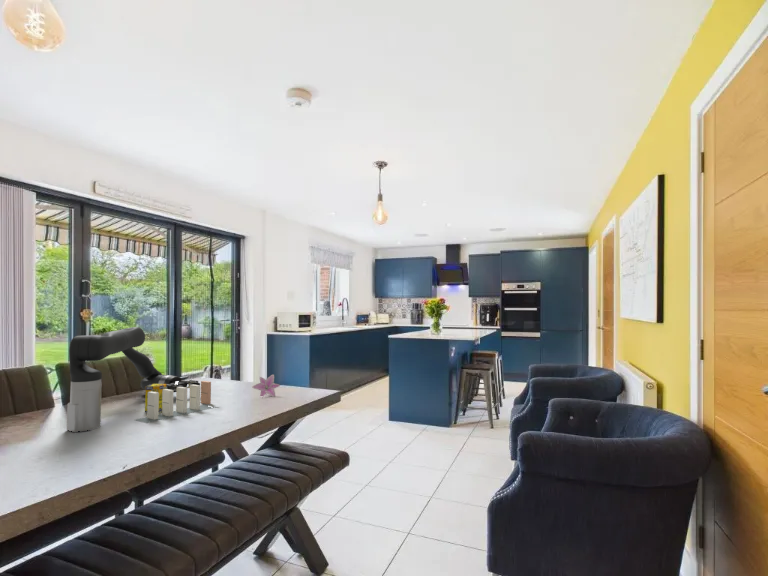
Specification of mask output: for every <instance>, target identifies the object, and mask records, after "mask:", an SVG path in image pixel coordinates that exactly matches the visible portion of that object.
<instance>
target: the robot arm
mask: <svg viewBox="0 0 768 576" xmlns="http://www.w3.org/2000/svg"><path fill="white" fill-rule="evenodd" d="M145 340H146V334H145V332H144V330H143V329H142V328H141V327H139V326H132V327H126V328H122V329H118V330H112V331H107V332H105V333H103V334H102V335H98V334H97V335H75V336H74V337H72V338H71V341H70V343H69V348H68V351H69V353H68V354H69V356H68V357H69V358H68V359H69V375H70V376H69V377H70V391H69V392H70V396H69V402H68V403H67V404H66V406H67V410H66V431H68V430H69V431H70V432H71V431H72V432H71V433H79V432H78V431H80V432H87V430H88V431H92V430H94V429H98V428H100V427H101V422H102V421H101V420H102V419H101V417H102V415H101V414H102V384H103V383H102V378H103V374H102V371H101V370H99V369H95V368H93V367H90V365H88V364H87V362H96V361H97V362H98V361H101V360H104V359H105V358H107V357H108V356H111V355H115V354H119V353H120V352H122V353H123V354H124V356H125V357H126V358H127V359H128V360H129V361H130V362H131V363H132V364H133V366H134V368H135V370H136V371H137V373H138V374H139V376H140V377H141V378H143V379H141V381H140V387H141V388H142V389H143V390H144V391H146V386H149V385H152V384H166V389H170V390H174V391H173V393H176V389H177V387H186V388H187V389H190V385H193V384H194V385H200V386H201V382H199V380H195V379H189V380H185V379H182V377H181V376H177V375H167V374H162V372H160V371H159V370H158V369H157V368H156V367H155V366H154V364H153V361H151V359H150V358H149V357H148V356H147V355H146V354H144V353H142V352H140V351H138V350H136V349H135V348H137V347H141V346H142V345H143V344H144V343H145ZM69 431H68V432H69Z"/></svg>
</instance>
